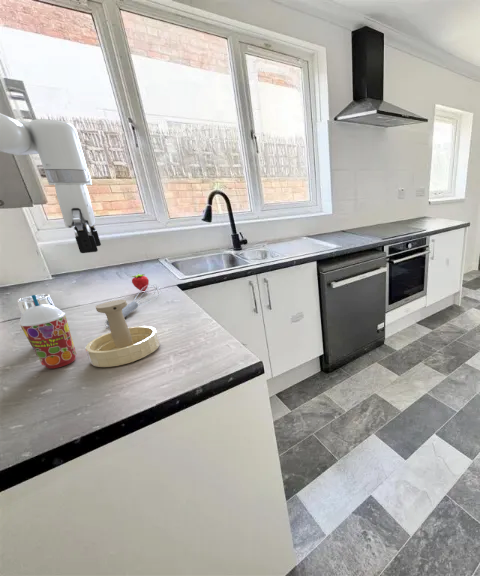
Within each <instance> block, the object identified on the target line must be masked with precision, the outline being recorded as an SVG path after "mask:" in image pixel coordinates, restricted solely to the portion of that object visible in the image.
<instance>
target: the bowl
mask: <svg viewBox="0 0 480 576" xmlns="http://www.w3.org/2000/svg"><path fill="white" fill-rule="evenodd" d="M128 328H129V331H130V334H131V337H132V344H133V345H131V346H128V347H124V348H120V349H118V348H117V347H116V345H115V343H114V341H113V338H112V335H111V331H110V332H108V333H104V334H102V335H100V336H98V337H96V338H94V339H93V340H90V341H89V342H88V343H87V344H86V346H85V348H84V349H85V352H86V354H87V357H88V360H89V362H90V364H91V365H92V366H93V367H98V368H111V367H118V366H124V365H127V364H130V363H134V362H136V361H139V360H141V359H144V358H145V357H147V356H149V355H151V354H152V353H154V352H155V351H156V350H158V348H159V347H160V345H161V344H160V339H159V335H158V331H157V329H156V328H155V327H153V326H148V325H137V326H128Z"/></svg>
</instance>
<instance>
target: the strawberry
mask: <svg viewBox="0 0 480 576" xmlns="http://www.w3.org/2000/svg"><path fill="white" fill-rule="evenodd" d="M130 278H132V279H131V283H132V285H133V287H135V288H136V289H137V290H138V291H139V292H140V291H141V289H142V288H143V289H144V290H143V289H142V291H145V290H147V289H148V288H149V285H150V283H149V281H150V280H149V278H148V277H147V276H146V274H145V273H143V274H140V273H139V272H137V275H131V276H130ZM145 288H146V289H145ZM142 291H141V292H142Z"/></svg>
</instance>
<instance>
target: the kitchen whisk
mask: <svg viewBox="0 0 480 576" xmlns="http://www.w3.org/2000/svg"><path fill="white" fill-rule="evenodd" d="M154 285H155V288H154ZM151 288H152V291H153V292H152V293H150V291H149V289H151ZM142 289H143V288H142ZM142 289H141V291H140V290H139V292H138V293H136V295H135V297H134V298H133V301H131V302H130V303H127V306H126V307H124V308H123V309H122V313H123V316H124V318H126V317H127V316H128V315H129V314H131V313H132V312H133V311H134V310H136V309H137V308H138V307H140V306H143V305H144V304H145V303H148V301H149V302H150V299H147V300H148V301H147V300H146V301H143V300H145V299H146V298H148V297H149V296H152V294H153V295H155V293H156V292H157V295H156V296H155V298H158V297H159V296H160V295H161V293H162V292H160V293H159V290H160V286H158V287H157V284H153V285H152V284H151V286H148V287H147V289H146V288H145V289H146V291H145V292H142ZM143 290H144V289H143ZM147 291H148V292H147ZM141 292H142V293H141ZM140 293H141V295H140V296H139V294H140ZM149 293H150V294H149ZM147 294H149V295H147ZM158 294H159V295H158ZM146 295H147V296H146ZM138 296H139V297H138ZM144 296H146V297H144ZM157 296H158V297H157ZM143 297H144V298H143ZM141 298H143V299H141ZM136 299H137V300H136ZM140 299H141V300H140ZM138 300H140V301H138ZM142 301H143V302H142ZM144 302H145V303H144ZM142 303H143V304H142ZM104 326H105V327H106V328H108V326H109V322H108V319H106V320H105V321H104Z"/></svg>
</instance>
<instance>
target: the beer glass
mask: <svg viewBox="0 0 480 576" xmlns="http://www.w3.org/2000/svg"><path fill="white" fill-rule="evenodd" d="M34 295H35V296H36V298H37V301H38V303H39V304H47V305H52V306H55V304H54V302H53V300H52V298H51V296H50V294H48V293H39V294H34ZM16 303H17V305H18V308H19V311H20V314H21V315H22V314H23V313H24V311H26V310H27V309H28V308H30V307H32V306H35V303H34V301H33V298H32V295H28V296H24V297H21V298H18V299H16Z"/></svg>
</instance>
